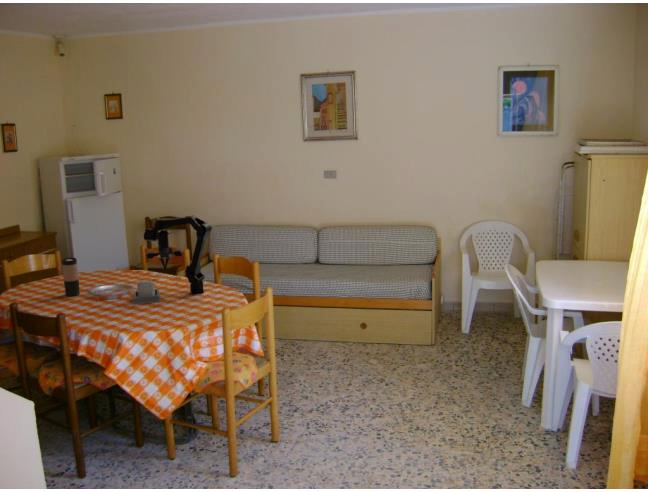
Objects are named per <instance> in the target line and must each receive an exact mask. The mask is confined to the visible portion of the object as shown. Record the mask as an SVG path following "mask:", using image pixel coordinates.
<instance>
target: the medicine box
mask: <svg viewBox="0 0 648 492" xmlns="http://www.w3.org/2000/svg"><path fill="white" fill-rule="evenodd" d="M136 286H137V291H138V297H145V296H155V281H154V280H145V281H144V280H142V281H138V282H137V284H136Z"/></svg>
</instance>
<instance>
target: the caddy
mask: <svg viewBox="0 0 648 492" xmlns="http://www.w3.org/2000/svg"><path fill="white" fill-rule="evenodd" d="M161 300H162V299H161V292H160V289H159V288H156V289H155V296H145V297H138V290H133V295H132V305H140V304H141V305H142V304H150V303H151V304H154V303H161V302H162V301H161Z"/></svg>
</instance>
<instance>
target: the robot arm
mask: <svg viewBox="0 0 648 492" xmlns="http://www.w3.org/2000/svg"><path fill="white" fill-rule="evenodd" d="M188 224H189V225H190V226H191V227H192V229H193V230H195V231H196V242H195V247H194V250H193V256H192V258H191V261H190V262H191V263H188V264H187V265H186V266H185V268H186V269H185V271H184V273H185V277H186V278H187V280H188V282H189V289H190V290H189V291H190V293H191V294H192V295H195V294H204V293H205V291H204V280H205V278H206V276H205V274H203V272H202V266H201V260H202V257H203V252H204V248H205V245H206V241H207V239H209V236H210V234H211V232H212V230H213V229H212V228H213V227H212V225H211V223H209V222H206V221H205V220H203V219H201V218H198V217H197V216H196V215H194V214H193V215H190V216H183V217H177V218H176V217H175V218H171V217H170V218H168V217H162V218H160V219H157V220H155V222H154V226H153V227H152V228H149V227H148V228H145V229H144V233H143V240H144V241H147V242H157V246H158V247H157V249H158V252H154V250H153V251H147V252H146V259H149V260H150V259H154V258H155V257H156V258H157V259H158V260H159V261H160V262H161V264H162V267H163V268H164V270H167V267H168V264H169V261H170V259H172V256H175V257H182V256H183V254H182V253H183V252H182V250H181V249H179V248H177V249H173V247H170V243H169V234H172V231H171V230H170V229H169V228H170V227H175V226H181V225H183V226H184V225H188ZM164 259H165V260H164Z"/></svg>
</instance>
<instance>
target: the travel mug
mask: <svg viewBox="0 0 648 492" xmlns="http://www.w3.org/2000/svg"><path fill="white" fill-rule="evenodd" d="M61 265H62V277H63V285H64V292H65V296H66V297H68V298H69V297H70V298H71V297H77V296H79V295H80V291H81V290H80V280H79V278H80V276H79V270H78V262H77V258H76V257H67V258H66V257H65V258H63V259H61Z"/></svg>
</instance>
